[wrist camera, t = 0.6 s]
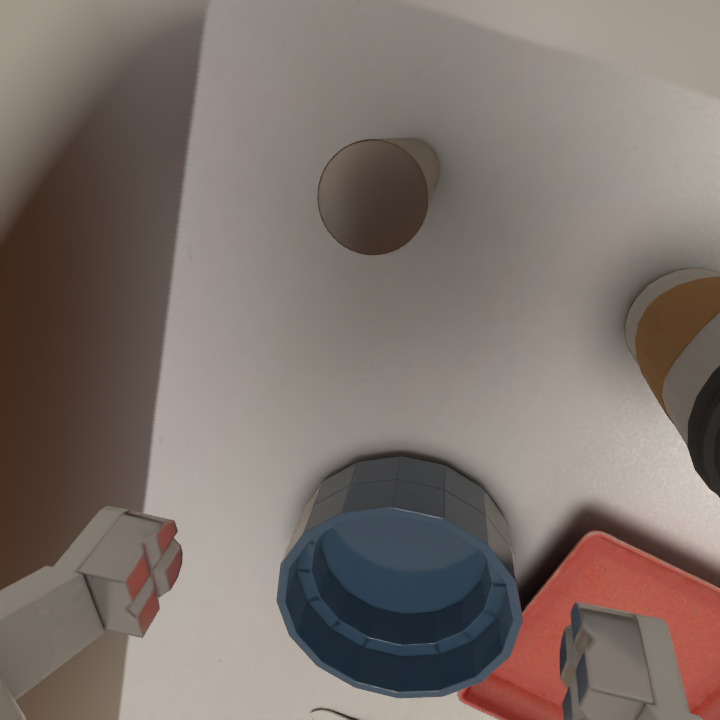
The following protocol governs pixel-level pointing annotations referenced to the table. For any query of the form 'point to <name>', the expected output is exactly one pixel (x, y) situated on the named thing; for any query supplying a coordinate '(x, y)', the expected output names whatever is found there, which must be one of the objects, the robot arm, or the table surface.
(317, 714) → the spoon
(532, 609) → the plant saucer
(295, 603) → the bowl
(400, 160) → the brown cylinder
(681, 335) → the coffee cup
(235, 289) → the table surface
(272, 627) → the table surface
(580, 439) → the table surface
